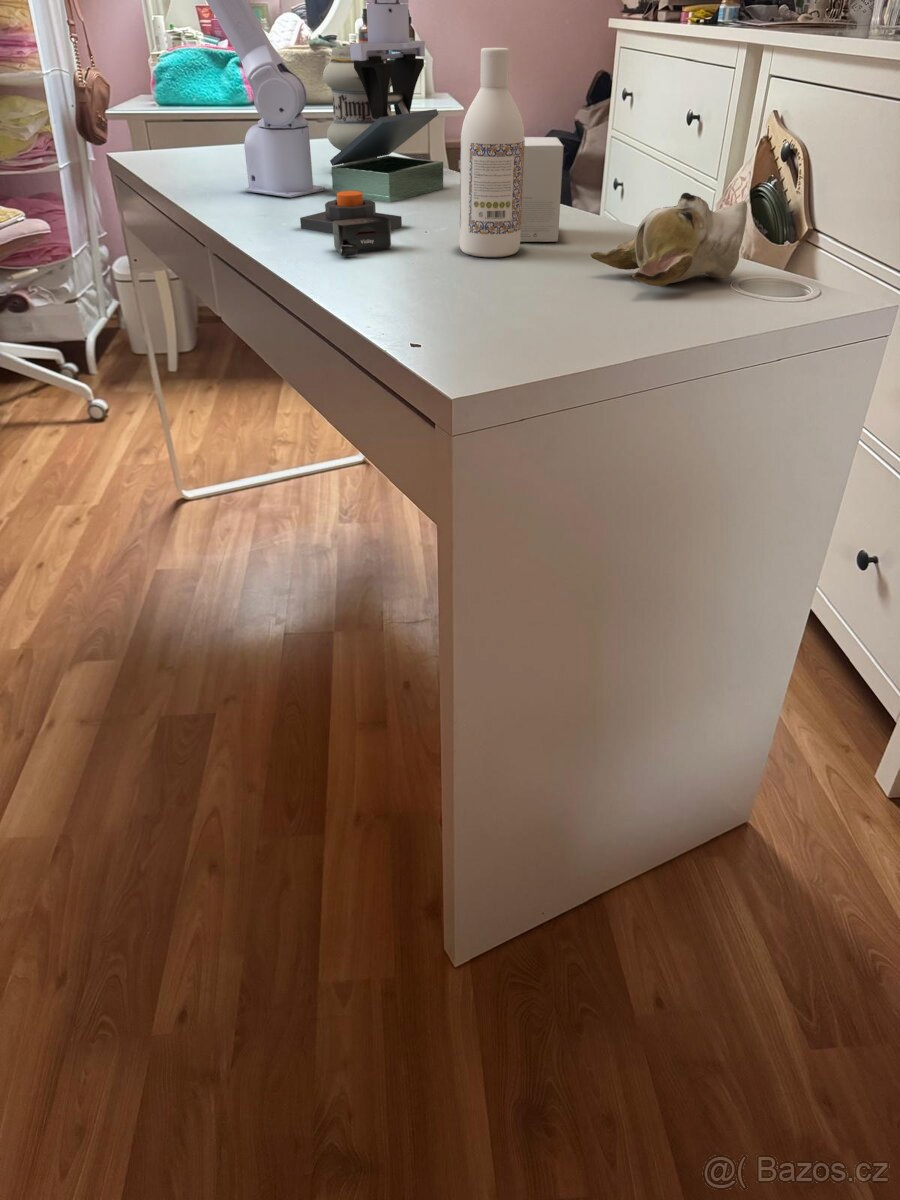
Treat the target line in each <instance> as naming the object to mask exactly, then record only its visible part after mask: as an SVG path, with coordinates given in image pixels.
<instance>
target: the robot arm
mask: <svg viewBox="0 0 900 1200" xmlns="http://www.w3.org/2000/svg"><path fill="white" fill-rule="evenodd" d="M205 1H206V4H207V5H208V7H209V9H210V10H211V12H212V14H213V15H214V17H215V20H217V23H218V24H219V26H220V28H221V29H222V31H223V33H224V35H225V36H226V38H227V40H228V42H229V44H230V45H231V47H232V48H233V50H234V52H235V54H236V56H237V57H238V59H239V61H240V63H241V65H242V68H243V73H244V77H245V79H246V81H247V83H248V84H249V86H250V88H251V91H252V95H253V103H254V107H255V109H256V111H257V113H258V115H259V116H260V117H261V118H260V119H259V120H257V124H254V125H252V126H251V127H249V129H248V130H247V132H246V134H245V137H244V141H243V142H244V143H243V144H244V146H243V147H244V155H245V165H246V173H247V182H248V183H247V184H248V187H245V188H244V191H245V192H247V193H255V194H261V195H270V196H277V197H282V198H296V197H300V196H305V195H309V194H314V193H319V192H323V191H326V190H327V188H326V186H323V185H316V184H314V179H313V168H312V167H313V166H312V154H311V139H310V128H309V127H310V126H309V121H308V120H307V119H306V118H305V116H304V115H303V113H302V112H303V111H304V110H305V107H306V104H307V89H306V86H305V84H304V82H303V81H302V80H301V78H300V77H299V76H298V75H297V74H296V73H294V72H293V71H291V69H290V68H289V67H288V66H287V64H286V63H285V62H284V60H283V57H282V56H281V55H280V54H279V52H278V51H277V50H276V49H275V47H274V45H273V44H272V43H271V41H270V40H269V38H268V36H267V34H266V32H265V30H264V29H263V27H262V25H261V22H260V21H259V19H258V17H257V15H256V14H255V12H254V10H253V8H252V7H251V5H250V3H249V1H248V0H205ZM365 5H366V22H367V23H366V26H367V27H366V28H367V41H365V42H363V41H362V42H354V43H349V47H350V55H351V60H354V69H355V71H356V72H357V74H358V76H359V78H360V80H361V82H362V84H363V87H364V90H365V93H366V96H367V99H368V103H369V107H370V111H371V114H372V118H373V119H379V118H380V117H386V116H387V110H388V88H389V81H390V78H391V83H392V86H391V88H392V92H396V91H401V92H402V93H403V94H404V104H405V106H406V108H407V110H408V112H409V113H411V108H412V103H413V99H414V94H415V89H416V86H417V83H418V80H419V77H420V76H421V73H422V70H423V69H424V67H425V59H424V58H421V57H425V56H426V45H425V44H426V42H425V40H414V39H413V40H410V19H409V18H410V17H409V16H410V15H409V0H366V3H365ZM387 51H391V52H393V53H387ZM377 53H386V54H378V55H377ZM418 57H419V58H418ZM385 58H387V60H386V63H384V61H382V59H385ZM393 108H394V113H395V114H394V115H400V114H402V112H401V110H400V108H399V106H398V104H395V105H393Z"/></svg>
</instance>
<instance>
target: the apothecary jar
mask: <svg viewBox="0 0 900 1200" xmlns="http://www.w3.org/2000/svg"><path fill="white" fill-rule="evenodd" d="M378 54H387V52H386V53H377V55H378ZM386 60H388V58H385V59H382V61H384V63H386ZM322 74H323V75H322V76H323V77H322V78H323V81H324V83H325V84H326V85H327V87H329V88H330V91H331V97H332V98H331V100H332V110H333V111H332V113H333V121H332V122H331V124H330V125H328V127H327V131H326V136H327V137H326V138H327V139H328V141H329V143H330V144H331V145H332V146H333V147H334V148H335V149H337V150H339V151H342V150H343V149H344V148H345V147H346V146H347V145H349V144H350V143H351V142H352V141H353V140H354V139H355V138H357V137H358V136H359V135H360V134H361V133H362V132H364V131H365V130H366V129H367V128H368V127H369V126H370V125H372V124H373V123H374V122H375V121H376V120H377V119H373V118H372V114H371V111H370V107H369V103H368V99H367V96H366V93H365V90H364V87H363V84H362V82H361V80H360V78H359V76H358V74H357V72H356V71H355V69H354V60H351V55H350V46H335V47H332V48H331V57H330V62H329V63H327V64H326V66H325V68H324V70H323V73H322ZM391 88H392V83H391V78H390V81H389V88H388V92H391ZM388 108H389V110H390V112H391V114H392V105H388ZM392 115H393V114H392ZM375 158H378V157H375ZM370 159H374V158H370ZM365 160H369V159H365ZM360 161H364V160H360ZM355 162H359V161H355ZM350 163H354V162H350ZM345 164H349V163H345Z"/></svg>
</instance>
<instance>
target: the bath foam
mask: <svg viewBox="0 0 900 1200" xmlns="http://www.w3.org/2000/svg"><path fill="white" fill-rule="evenodd" d="M509 66H510V49H509V48H508V47H482V48H481V49H480V69H479V70H480V73H479V75H480V79H479V81H480V82H479V83H480V85H479V86H480V87H479V90H478V92H477V94H476V95H475V97H474V98H473V100H472V102H471V103H470V106H469V107H468V110H467V111H466V114H465V117H464V119H463V123H462V127H461V133H460V151H459V153H460V160H459V161H460V163H459V165H460V166H459V168H460V170H459V176H460V177H459V187H460V189H459V249H460V250H461V251H462V252H463V253H464V254H467V255H469V256H473V257H480V258H503V257H509V256H512V255H515V254H516V253H518V251H519V250H520V248H521V242H520V233H521V214H522V191H523V169H524V147H525V137H526V136H525V126H524V122H523V118H522V115H521V112H520V110H519V108H518V106H517V103H516V102H515V100H514V98H513V96H512V94H511V92H510V91H509V68H510V67H509Z"/></svg>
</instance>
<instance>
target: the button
mask: <svg viewBox="0 0 900 1200" xmlns="http://www.w3.org/2000/svg"><path fill="white" fill-rule="evenodd" d="M363 199H364V198H363V193H362V192H359V191H341V192H338V193H337V195H336V200H337V205H339V206H360V205H363Z"/></svg>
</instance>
